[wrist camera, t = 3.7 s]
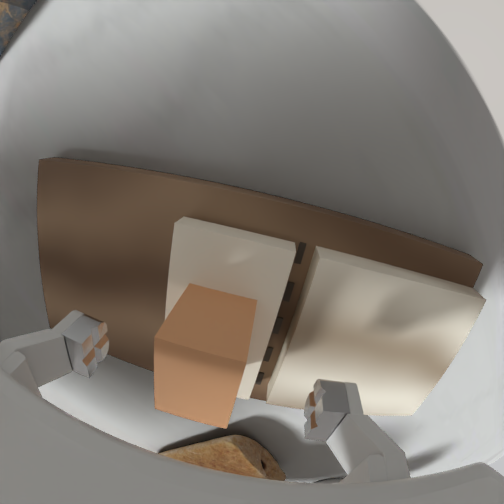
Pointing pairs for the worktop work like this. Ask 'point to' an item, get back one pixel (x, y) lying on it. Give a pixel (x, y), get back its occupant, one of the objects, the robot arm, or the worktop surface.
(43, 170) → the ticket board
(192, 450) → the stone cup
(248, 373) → the stub
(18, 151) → the worktop surface
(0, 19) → the grey open box
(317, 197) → the worktop surface
